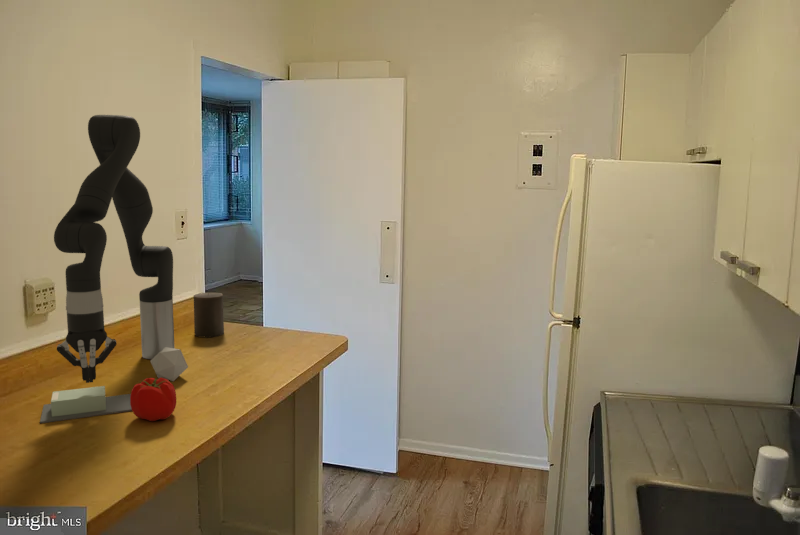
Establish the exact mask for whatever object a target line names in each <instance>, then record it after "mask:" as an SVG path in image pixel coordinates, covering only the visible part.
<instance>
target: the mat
mask: <svg viewBox="0 0 800 535" xmlns="http://www.w3.org/2000/svg"><path fill="white" fill-rule="evenodd" d="M130 396H131V393H127V394H117V395H112V396H110V395H109V396H105V398H106V410H100V411H93V412H85V413H77V414H70V415H62V416H54V417H52V412H51V403H45V404H43V407H42V411H41V416H40V420H39V423H40V424H46V423H51V422H52V423H53V422H60V421H67V420H76V419H82V418H90V417H96V416H104V415H111V414H119V413H126V412H133V411H132V409H131V405H130Z"/></svg>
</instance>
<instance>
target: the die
mask: <svg viewBox="0 0 800 535" xmlns="http://www.w3.org/2000/svg"><path fill="white" fill-rule="evenodd" d="M174 348H175V347H174ZM174 348H168V347H165V348H164V349H163V350H162V351H160V352H159V353H158V354H157V355H156V356H155V357H154V358H153V359H150V364H151V366H152V368H153V370H154V373H155V375H156V377H157V379H159V378H165V379H167V380H168V381H169V380H170V381H171V382H174V381H175V380H176V379H178V377H180V376H181V374H183V373H184V372H185V371H187V369H188V368H189V365H188V363H187V361H186V359H185V356H184V354H183V352H182V350H181V349H179V348H175V349H174ZM170 381H169V382H170Z"/></svg>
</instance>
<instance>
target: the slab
mask: <svg viewBox="0 0 800 535" xmlns="http://www.w3.org/2000/svg"><path fill="white" fill-rule="evenodd" d="M105 397H106V385H101V386H92V387H83V388H74V389H65V390H55V391H52V394H51V399H50V404H51V412H52V417H54V416H62V415H70V414H77V413H85V412H93V411H100V410H106V398H105Z"/></svg>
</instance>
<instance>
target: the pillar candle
mask: <svg viewBox="0 0 800 535" xmlns="http://www.w3.org/2000/svg"><path fill="white" fill-rule="evenodd" d="M223 294H224V293H221V292H209V291H208V290H207V292H200V293H196V294H193V322H194V323H193V324H194V326H193V328H194V332H193V333H194V335H195V337H199V338H216V337H219V336H223V335H224V334H225V324H224V321H225V320H224V318H225V317H224V295H223Z"/></svg>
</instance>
